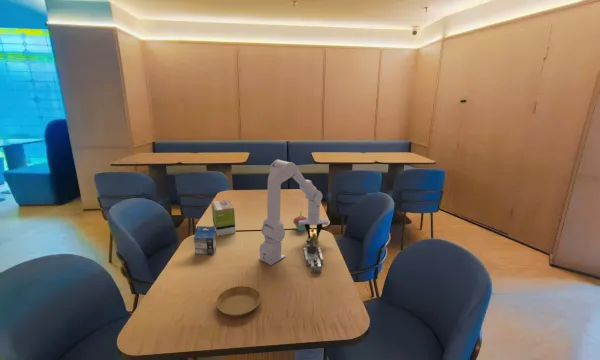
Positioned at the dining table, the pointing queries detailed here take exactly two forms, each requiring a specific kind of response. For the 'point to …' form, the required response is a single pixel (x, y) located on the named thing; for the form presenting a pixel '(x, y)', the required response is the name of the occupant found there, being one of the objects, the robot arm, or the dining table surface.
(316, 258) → the chain
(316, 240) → the brass link
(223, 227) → the tea box
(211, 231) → the blue and white carton
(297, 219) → the cupcake
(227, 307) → the plant saucer
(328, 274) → the dining table surface
